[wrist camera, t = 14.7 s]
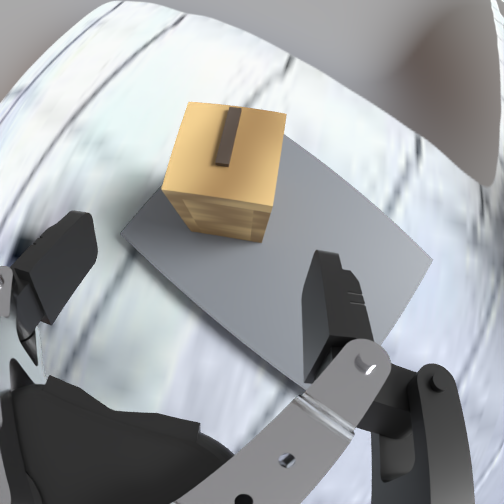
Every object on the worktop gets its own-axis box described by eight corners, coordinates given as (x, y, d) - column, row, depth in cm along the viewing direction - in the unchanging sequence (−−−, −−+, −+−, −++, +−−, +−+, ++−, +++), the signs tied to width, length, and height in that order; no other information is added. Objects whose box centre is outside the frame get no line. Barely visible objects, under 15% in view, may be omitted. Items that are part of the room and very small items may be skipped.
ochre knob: (190, 231, 21) (159, 186, 12) (205, 167, 21) (187, 98, 13) (261, 242, 21) (273, 203, 12) (272, 177, 21) (287, 110, 13)
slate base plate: (127, 237, 22) (120, 233, 20) (242, 116, 24) (242, 106, 22) (326, 402, 20) (331, 408, 19) (423, 262, 22) (433, 259, 21)
